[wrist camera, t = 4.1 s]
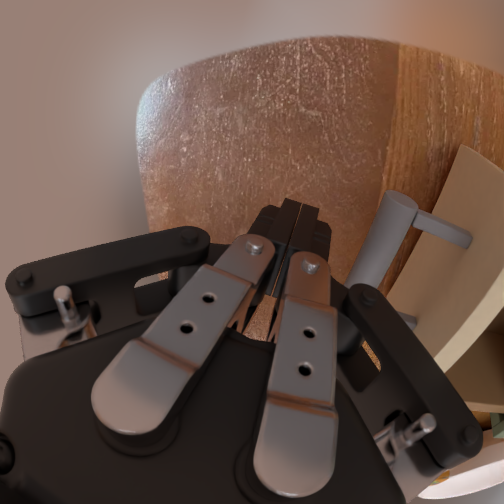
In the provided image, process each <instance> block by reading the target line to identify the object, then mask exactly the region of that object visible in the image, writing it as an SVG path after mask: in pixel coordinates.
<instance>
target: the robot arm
mask: <svg viewBox="0 0 504 504" xmlns="http://www.w3.org/2000/svg"><path fill="white" fill-rule="evenodd" d="M301 204H302V203H300V202H297V201H294V200H291V199H288V198H285V200H284V202H283V204H282V206H281V208H279V207H276V206H273V205H268V206H266V207H264V208H262V210H261V211H260V213H259V215H258V216H257V218H256V220H255V221H254V223H253V224H252V226H251V227H250V229H249V231H248V232H247V234H243V235H240V236H238V237H237V238H236V239H235V240H234V241H233V242H232V244H228V245H224V244H214V243H210V236H209V234H208V233H207V232H206V231H204V230H202V229H200V228H198V227H193V226H182V227H177V228H172V229H168V230H163V231H158V232H154V233H149V234H145V235H140V236H136V237H131V238H127V239H123V240H119V241H115V242H110V243H106V244H101V245H97V246H94V247H90V248H85V249H81V250H77V251H73V252H69V253H65V254H61V255H57V256H53V257H49V258H46V259H42V260H38V261H34V262H31V263H27V264H23V265H21V266H19V267H17V268H16V269H14V270H13V271H12V272H11V273H10V274H9V275H8V277H7V279H6V283H5V286H6V290H7V292H8V294H9V297H10V299H11V301H12V303H13V305H14V310H15V312H16V314H17V316H18V318H19V324H20V334H21V342H22V349H23V357H24V362H23V363H22V364H20V365H19V366H18V367H17V368H16V369H15V370H14V371H13V373H12V374H11V376H10V378H9V379H8V381H7V384H6V387H5V390H4V396H3V402H2V408H1V412H0V504H408V503H409V502H410V501H411V500H413V499H414V498H415V497H416V496H418V495H419V494H420V493H421V492H422V491H423V490H425V489H426V488H427V487H428V486H429V485H430V484H431V483H433V482H434V481H435V480H436V479H437V478H438V477H439V476H440V475H441V474H442V473H444V472H446V471H448V470H450V469H452V468H454V467H456V466H458V465H460V464H462V463H464V462H466V461H467V460H469V459H471V458H473V457H475V456H476V455H477V454H478V453H479V452H480V451H481V449H482V446H483V432H482V429H481V426H480V425H479V423H478V421H477V420H476V418H475V417H474V415H473V414H472V412H471V411H470V409H469V408H468V406H467V405H466V403H465V402H464V400H463V399H462V398H461V396H460V395H459V393H458V392H457V390H456V389H455V388H454V386H453V385H452V383H451V382H450V381H449V379H448V378H447V376H446V375H445V374H444V372H443V371H442V369H441V368H440V367H439V365H438V364H437V363H436V361H435V360H434V359H433V357H432V356H431V355H430V353H429V352H428V351H427V349H426V348H425V347H424V345H423V344H422V343H421V342H420V340H419V339H418V338H417V336H416V335H415V334H414V333H413V331H412V330H411V329H410V327H409V326H408V325H407V324H406V322H405V321H404V320H403V319H402V317H401V316H400V315H399V314H398V312H397V311H396V310H395V309H394V308H393V306H392V305H391V304H390V303H389V302H388V300H387V299H386V298H385V297H384V295H383V294H382V293H381V292H380V291H379V290H377V289H376V288H374V287H372V286H370V285H368V284H364V283H356V284H354V285H352V286H351V287H350V289H349V288H347V287H345V286H343V285H342V284H340V283H339V282H337V281H336V280H335V279H334V278H333V277H332V276H331V269H330V266H329V264H328V257H329V249H330V241H331V233H332V230H331V228H330V227H329V225H328V223H325V222H322V221H319V220H317V217H318V213H319V208H316V207H313V206H310V205H307V204H304V203H303V205H302V208H301V211H300V207H301ZM299 211H300V214H299ZM298 214H299V217H298ZM297 217H298V220H297ZM296 220H297V223H296ZM295 224H296V226H295ZM294 227H295V229H294ZM293 230H294V231H293ZM292 233H293V234H292ZM291 236H292V237H291ZM290 239H291V240H290ZM289 242H290V243H289ZM288 245H289V246H288ZM287 248H288V249H287ZM286 251H287V252H286ZM285 254H286V255H285ZM284 257H285V258H284ZM283 260H284V261H283ZM282 262H283V265H282ZM281 265H282V268H281ZM280 268H281V271H280ZM165 271H168V279H165V280H161V281H158V282H154V283H151V284H148V285H144V286H140V287H137V288H134V286H135V284H136V282H137V281H138V280H140V279H141V278H144V277H147V276H151V275H154V274H158V273H162V272H165ZM279 271H280V274H279ZM278 274H279V277H278V280H277V283H276V286H275V289H274V292H273V295H272V297H275V298H277V300H276V303H275V306H274V308H273V311H272V314H271V318H270V322H269V327H268V331H267V335H266V339H265V341H259V340H253V339H250V338H248V337H246V336H245V335H244V334H245V333H246V331H247V329H248V327H249V325H250V323H251V321H252V319H253V317H254V316H255V314H256V312H257V310H258V307H259V304H260V303H261V302H262V300H263V297H264V295H265V294H266V295H269V296H270V295H271V293H272V290H273V287H274V285H275V282H276V279H277V276H278ZM364 341H366V342H367V343H368V345H369V346H370V348H371V349H372V351H373V352H374V353H375V355H376V356H377V358H378V359H379V361H380V365H381V370H380V372H379V370H378V369H377V367H376V366H375V364H374V363H373V361H372V360H371V358H370V357H369V355H368V354H367V353H366V351H365V350H364V348H363V347H362V344H363V342H364Z"/></svg>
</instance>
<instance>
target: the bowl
mask: <svg viewBox="0 0 504 504" xmlns="http://www.w3.org/2000/svg"><path fill="white" fill-rule="evenodd" d="M502 482H504V438H493V432H492V429H490V430H487V431H483V446H482V449H481V451H480V452H479V453H478V454H477V455H476V456H475V457H473V458H471V459H469V460H467V461H466V462H464V463H462V464H460V465H458V466H456V467H454V468H452V469H450V475H449V479H447V480H445V481H443V482H441V483H439V484H437V485H432V486H428V487H427V488H426V489H425V490H423V491H422V492H421V493H420V494H419V495H418V496H419V497H421V498H426V499H442V498H449V497H456V496H461V495H466V494H470V493H473V492H477V491H480V490H483V489H486V488H489V487H492V486H494V485H497V484H499V483H502Z"/></svg>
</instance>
